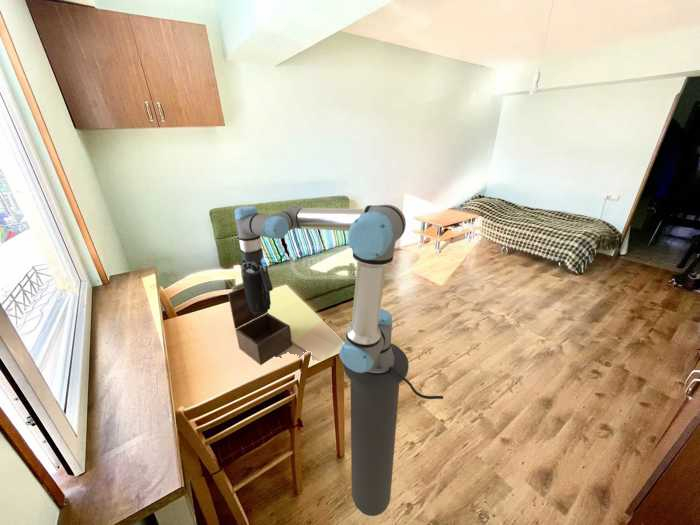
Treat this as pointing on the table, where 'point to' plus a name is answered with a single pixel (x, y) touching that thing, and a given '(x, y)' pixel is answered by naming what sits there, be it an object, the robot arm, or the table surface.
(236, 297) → the lid
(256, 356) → the chest
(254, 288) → the portable speaker
